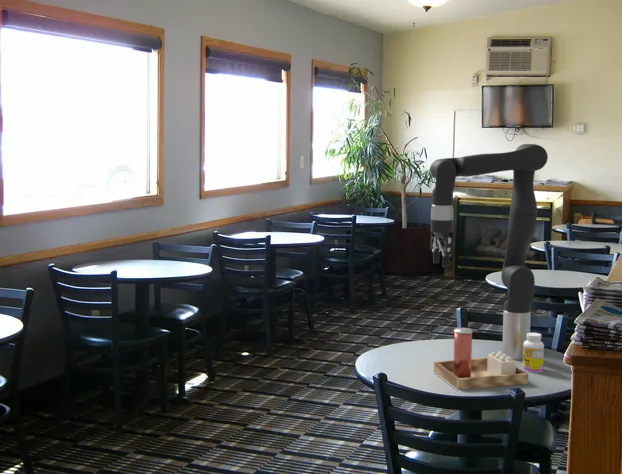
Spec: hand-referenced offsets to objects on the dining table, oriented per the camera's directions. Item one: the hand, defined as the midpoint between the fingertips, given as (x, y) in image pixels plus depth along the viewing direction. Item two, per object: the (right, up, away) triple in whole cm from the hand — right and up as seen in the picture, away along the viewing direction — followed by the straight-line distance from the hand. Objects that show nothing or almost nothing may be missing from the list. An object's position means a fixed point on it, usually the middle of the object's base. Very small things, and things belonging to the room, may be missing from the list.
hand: (441, 265), depth 277 cm
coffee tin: (+4, -36, -17) cm, 40 cm away
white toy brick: (+17, -35, -14) cm, 42 cm away
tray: (+10, -36, -16) cm, 41 cm away
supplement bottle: (+29, -36, -7) cm, 47 cm away
